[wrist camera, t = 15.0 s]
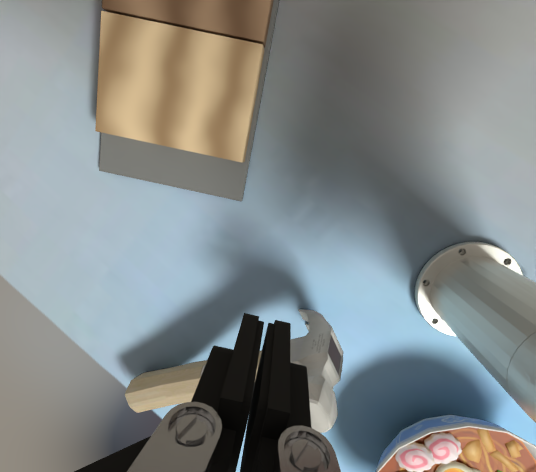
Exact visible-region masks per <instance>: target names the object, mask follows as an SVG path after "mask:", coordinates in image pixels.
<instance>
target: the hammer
mask: <svg viewBox="0 0 536 472" xmlns="http://www.w3.org/2000/svg"><path fill="white" fill-rule="evenodd" d="M299 312H300V314H301V316H302V319H303V320H305V321H307V322H309V324H305V325H306V327H307V329H308V331H309V333H308V334H307V335H306V336H304V337H300V338H295V339H291V340H290V363H295V364H299V365H304V366H306V367H307V374H308V388H309V401H310V414H311V427H312V429H314V430H316V431H318V432H320V433H322V432H327V431H328V430H330V429H331V428H332V427H333V425H334V423H335V421H336V418H337V402H336V398H335V393H334V391H333V387H334V385H336V384H337V383H338V382H339V381H340V378H341V372H342V363H343V350H342V348H341V346H340V344H339V342H338V340H337V337H336V335H335V333H334V331H333V329H332V327H331V326H330V324H329V323H328V322H327V321H326V320H325V318H324V317H323V316H322V315H321V314H320V313H318V312H316V311H314V310H305V309H299ZM261 353H262V351H259V357H258V364H257V370H258V366H259V362H260V357H261ZM206 363H207V360H205V361H199V362H193V363H189V364H185V365H181V366H176V367H171V368H166V369H161V370H156V371H151V372H145V373H143V374H141V375H139V376H138V377H136V378H134V379H133V380H131V382H130V384H129V386H128V388H127V391H126V393H125V396H126V399H127V401H128V404H129V406H130V407H131V408H132V409H133V410H134V411H136V412H137V413H138V412H143V411H147V410H152V409H156V408H161V407H165V406H169V405H174V404H180V403H186V402H191V401H192V398H193V395H194V393H195V390H196V388H197V385H198V383H199V380H200V378H201V375H202V373H203V370H204V368H205V365H206ZM257 370H256V375H257ZM255 379H256V377H255Z"/></svg>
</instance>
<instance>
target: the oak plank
mask: <svg viewBox="0 0 536 472" xmlns="http://www.w3.org/2000/svg"><path fill="white" fill-rule="evenodd" d="M263 56H264V47H263V44H258V43H253V42H249V41H244V40H239V39H234V38H230V37H225V36H220V35H215V34H210V33H206V32H201V31H196V30H191V29H187V28H182V27H177V26H172V25H167V24H163V23H158V22H153V21H148V20H144V19H139V18H134V17H129V16H124V15H120V14H115V13H110V12H105V11H101V28H100V49H99V69H98V90H97V111H96V131H97V132H102V133H107V134H111V135H116V136H121V137H125V138H130V139H135V140H139V141H144V142H149V143H153V144H158V145H163V146H167V147H172V148H176V149H181V150H186V151H190V152H195V153H200V154H204V155H209V156H214V157H218V158H223V159H228V160H232V161H237V162H245V156H246V151H247V145H248V140H249V134H250V128H251V123H252V117H253V112H254V106H255V101H256V95H257V89H258V84H259V78H260V73H261V67H262V61H263Z"/></svg>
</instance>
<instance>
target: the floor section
mask: <svg viewBox="0 0 536 472" xmlns="http://www.w3.org/2000/svg"><path fill="white" fill-rule="evenodd" d="M278 4H279V0H102V8H103V9H104V10H106V11H107V12H110V13H115V14H120V15H124V16H129V17H134V18H139V19H144V20H148V21H153V22H158V23H163V24H167V25H172V26H177V27H182V28H187V29H191V30H196V31H201V32H206V33H210V34H215V35H220V36H225V37H230V38H234V39H239V40H244V41H249V42H253V43H258V44H263V47H264V56H263V61H262V67H261V73H260V78H259V84H258V89H257V95H256V101H255V106H254V112H253V117H252V123H251V128H250V134H249V140H248V145H247V151H246V156H245V162H237V161H232V160H228V159H223V158H218V157H214V156H209V155H204V154H200V153H195V152H190V151H186V150H181V149H176V148H172V147H167V146H163V145H158V144H153V143H149V142H144V141H139V140H135V139H130V138H125V137H121V136H116V135H111V134H107V133H102V132H101V147H100V165H99V171H103V172H108V173H113V174H117V175H122V176H126V177H131V178H136V179H140V180H145V181H150V182H154V183H159V184H163V185H168V186H173V187H177V188H182V189H187V190H191V191H196V192H201V193H205V194H210V195H214V196H219V197H224V198H228V199H233V200H238V201H242V199H243V194H244V188H245V183H246V178H247V172H248V167H249V161H250V156H251V150H252V145H253V140H254V134H255V129H256V123H257V118H258V112H259V107H260V102H261V96H262V91H263V85H264V80H265V75H266V69H267V64H268V58H269V53H270V47H271V42H272V37H273V31H274V26H275V20H276V15H277V9H278Z"/></svg>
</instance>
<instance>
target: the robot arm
mask: <svg viewBox="0 0 536 472" xmlns="http://www.w3.org/2000/svg"><path fill="white" fill-rule="evenodd" d="M459 250H460V251H459ZM424 280H425V281H424ZM423 281H424V282H423ZM415 301H416V305H417V307H418V310H419V312H420V314H421V315H422V316H423V317H424V319H425V320H426V321H427V322H428V323H429V324H430V325H431V326H432V327H433V328H435V329H436V330H438V331H440V332H442V333H445V334H447V335H452V336H457V337H458V338H459V340H460V341H461V342H462V343H463V344H464V345H465V346H466V347H467V348H468V350H469V351H470V352H471V353H472V354H473V355H474V356H475V357H476V358H477V360H478V361H479V362H480V363H481V364H482V365H483V366H484V367H485V368H486V370H487V371H488V372H489V373H490V374H491V375H492V376H493V377H494V378H495V380H496V381H497V382H498V383H499V384H500V385H501V386H502V387H503V388H504V390H505V391H506V392H507V393H508V394H509V395H510V396H511V397H512V398H513V399H514V401H515V402H516V403H517V404H518V405H519V406H520V407H521V408H522V409H523V410H524V411H525V413H526V414H527V415H528V416H529V417H530V418H531V419H533V420H534V421H535V422H536V282H534V281H532V280H530V279H528V278H526V277H525V276H523V274H522V271H521V269H520V266H519V265H518V263H517V262H516V260H515V259H514V258H513V257H512V256H511V255H510V254H509V253H507V252H506V251H504V250H502V249H500V248H499V247H496V246H494V245H491V244H488V243H483V242H464V243H458V244H455V245H452V246H449V247H447V248H445V249H443V250H442V251H440V252H438V253H437V254H436V255H434V256H433V257H432V258H431V259H430V260H429V261H428V262H427V263H426V264H425V266H424V267H423V269H422V270H421V272H420V274H419V276H418V278H417V281H416V286H415ZM258 319H259V316H255V315H250V314H245V313H244V316H243V319H242V323H241V326H240V330H239V333H238V337H237V340H236V344H235V347H234V350H232V349H227V348H223V347H218V346H213V348H212V350H211V353H210V355H209V358H208V360H207V363H206V365H205V368H204V370H203V373H202V375H201V378H200V380H199V383H198V385H197V388H196V390H195V393H194V395H193V398H192V401H191V402H186V403H182V404H179V405H177V406H176V407H174V408H172V409H171V410H170V411H169V412H168V413H167V414H166V415H165V417H164V418H163V420H162V421H161V423H160V424H159V425H158V427H157V429H156V430H155V431H154V433H153V434H152V436H150V437H148V438H146V439H144V440H141V441H139V442H137V443H135V444H133V445H131V446H128V447H126V448H124V449H122V450H120V451H118V452H116V453H113V454H111V455H109V456H107V457H105V458H103V459H100V460H98V461H96V462H94V463H92V464H90V465H88V466H86V467H83V468H81V469H79V470H77V471H75V472H235V471H236V467H237V463H238V459H239V454H240V450H241V446H242V442H243V437H244V433H245V429H246V424H247V420H248V424H247V431H246V437H245V443H244V450H243V456H242V462H241V469H240V472H341V470H340V467H339V464H338V460H337V457H336V454H335V451H334V449H333V447H332V445H331V444H330V442H329V441H328V440H327V439H326V437H324V436H323V435H322V434H321V433H320V432H318V431H316V430H314V429H312V427H311V414H310V401H309V388H308V374H307V367H306V366H304V365H299V364H295V363H290V323H286V322H282V321H277V320H275V322H274V324H272V323H268V327H267V332H266V336H265V340H264V345H263V349H262V353H261V357H260V362H259V366H258V370H257V364H258V357H259V351H260V344H261V338H262V332H263V325H264V322H263V321H258ZM256 370H257V375H256ZM255 377H256V379H255ZM249 411H250V412H249ZM248 416H249V418H248Z"/></svg>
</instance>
